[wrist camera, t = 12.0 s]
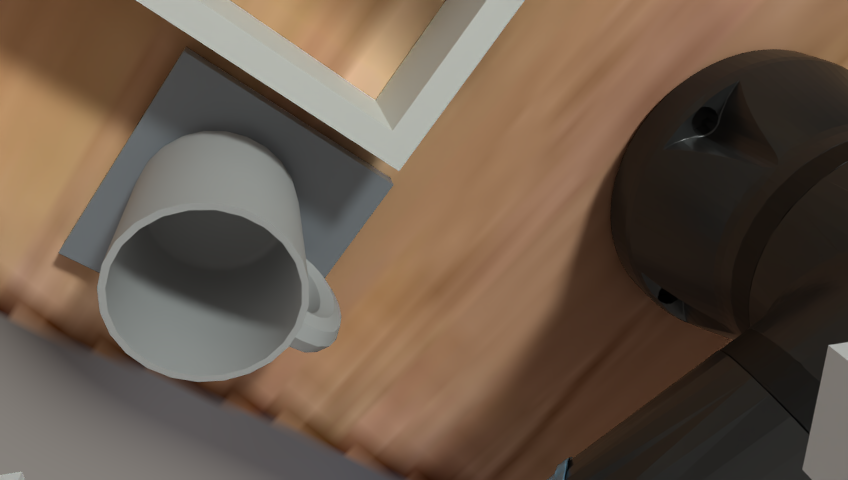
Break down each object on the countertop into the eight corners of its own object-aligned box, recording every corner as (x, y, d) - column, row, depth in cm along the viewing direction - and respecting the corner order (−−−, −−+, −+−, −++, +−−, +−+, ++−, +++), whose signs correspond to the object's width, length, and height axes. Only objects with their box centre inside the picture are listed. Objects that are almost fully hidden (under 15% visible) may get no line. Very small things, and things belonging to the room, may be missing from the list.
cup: (197, 93, 32) (178, 160, 24) (374, 221, 36) (406, 314, 28) (102, 217, 33) (54, 318, 26) (282, 327, 38) (289, 443, 30)
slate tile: (268, 343, 39) (268, 354, 38) (63, 243, 35) (58, 252, 34) (390, 177, 36) (393, 184, 36) (185, 46, 32) (183, 51, 31)
